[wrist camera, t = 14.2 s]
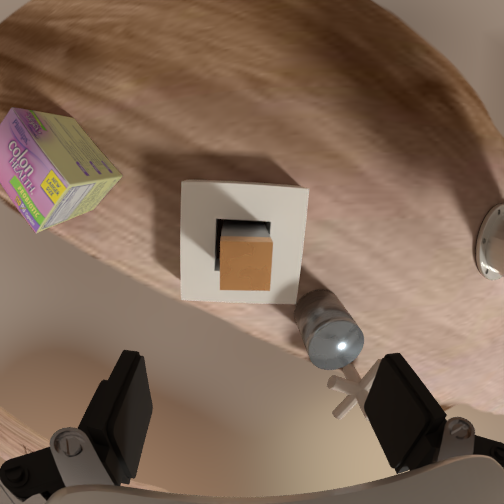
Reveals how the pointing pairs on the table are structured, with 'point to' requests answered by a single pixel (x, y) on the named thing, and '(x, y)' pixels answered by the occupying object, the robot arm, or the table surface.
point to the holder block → (240, 208)
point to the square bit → (245, 256)
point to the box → (51, 167)
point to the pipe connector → (352, 388)
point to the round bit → (327, 330)
